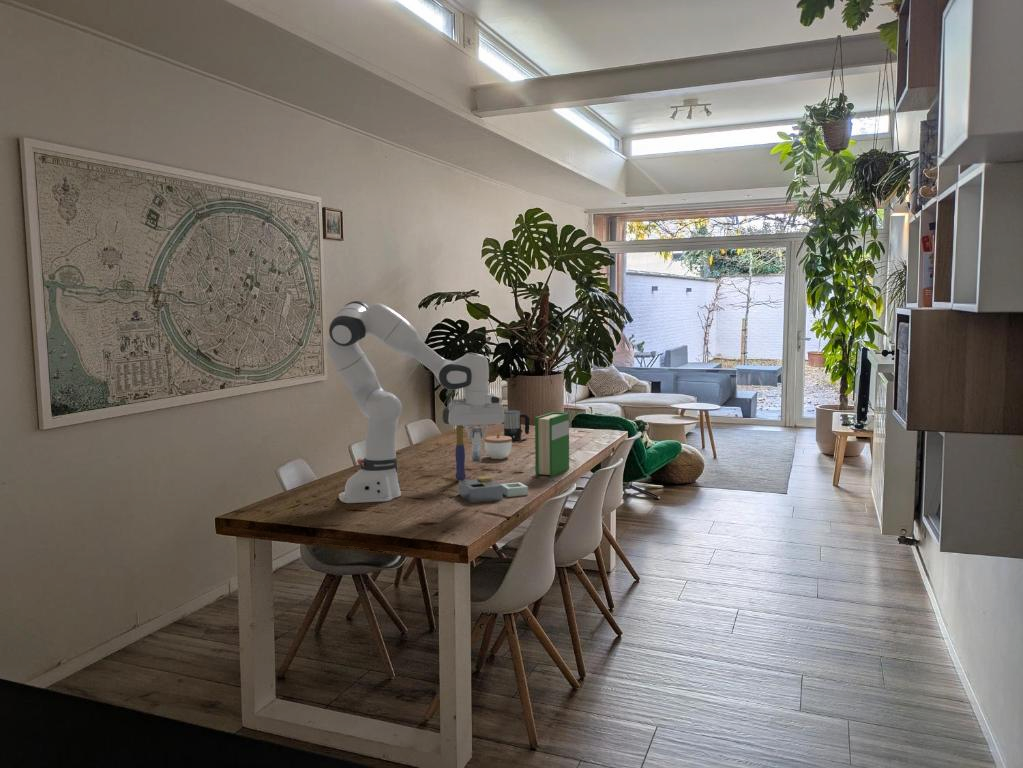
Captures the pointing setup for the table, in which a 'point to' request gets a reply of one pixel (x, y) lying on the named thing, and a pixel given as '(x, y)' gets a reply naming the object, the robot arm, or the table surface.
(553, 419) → the hardback book
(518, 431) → the milk frother
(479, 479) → the gold rectangular block
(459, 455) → the rubber mallet
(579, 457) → the table surface
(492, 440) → the lidded bowl
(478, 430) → the metal cylindrical peg
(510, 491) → the pale green square frame
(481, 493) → the socket block
